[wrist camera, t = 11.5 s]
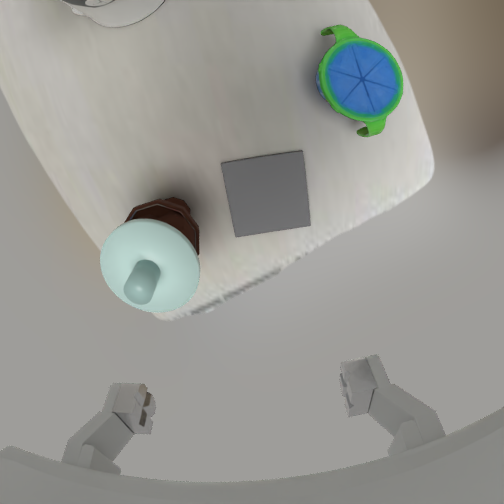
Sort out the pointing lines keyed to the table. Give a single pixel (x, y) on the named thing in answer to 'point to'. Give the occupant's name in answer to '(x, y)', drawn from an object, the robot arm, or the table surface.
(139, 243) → the lid
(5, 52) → the table surface
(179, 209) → the ice cream bowl
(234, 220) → the mat
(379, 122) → the snack cup
